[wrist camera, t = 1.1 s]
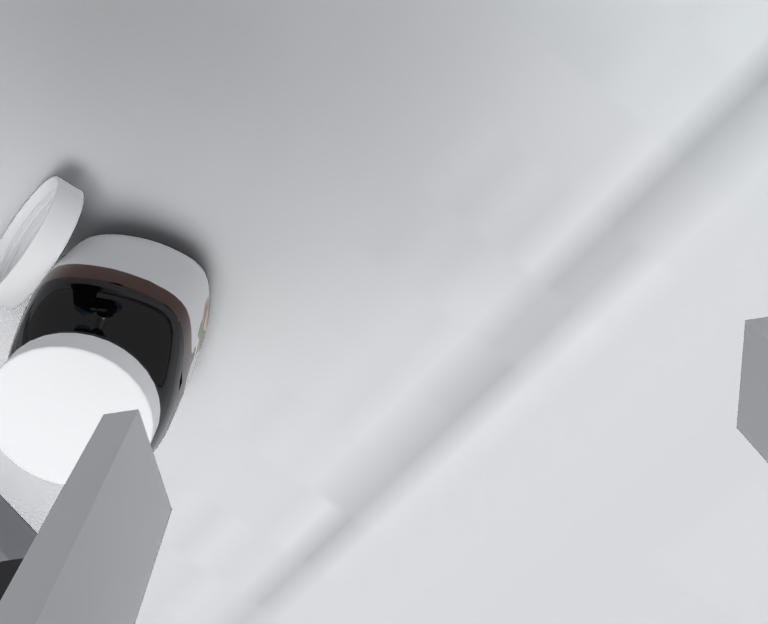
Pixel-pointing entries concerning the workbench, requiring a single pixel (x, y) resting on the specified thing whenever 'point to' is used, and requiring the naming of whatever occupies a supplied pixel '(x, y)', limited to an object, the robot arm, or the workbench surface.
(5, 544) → the button housing
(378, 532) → the workbench surface
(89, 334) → the spread jar
